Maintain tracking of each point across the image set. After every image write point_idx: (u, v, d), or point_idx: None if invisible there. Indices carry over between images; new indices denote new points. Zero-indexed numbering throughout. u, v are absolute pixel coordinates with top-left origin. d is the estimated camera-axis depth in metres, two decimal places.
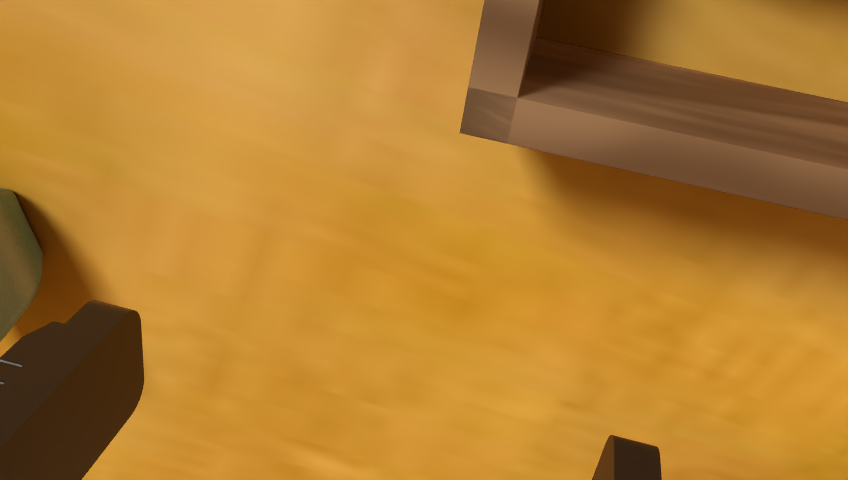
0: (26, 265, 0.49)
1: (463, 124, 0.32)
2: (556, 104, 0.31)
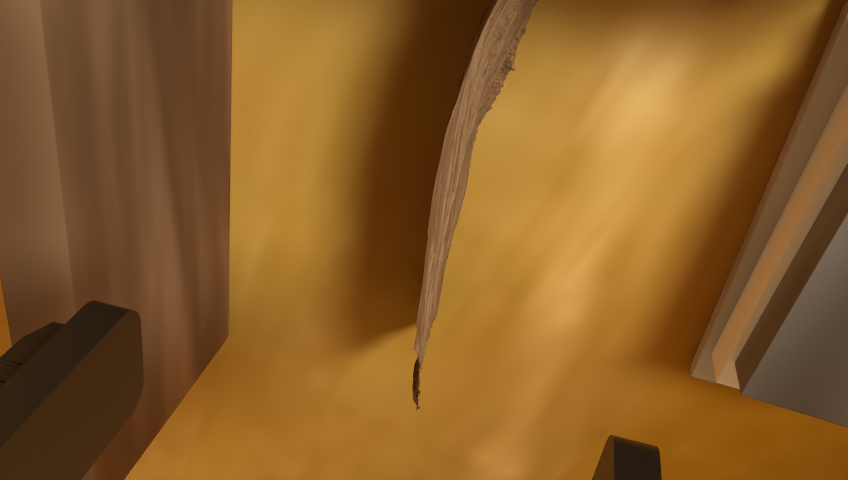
0: None
1: None
2: None
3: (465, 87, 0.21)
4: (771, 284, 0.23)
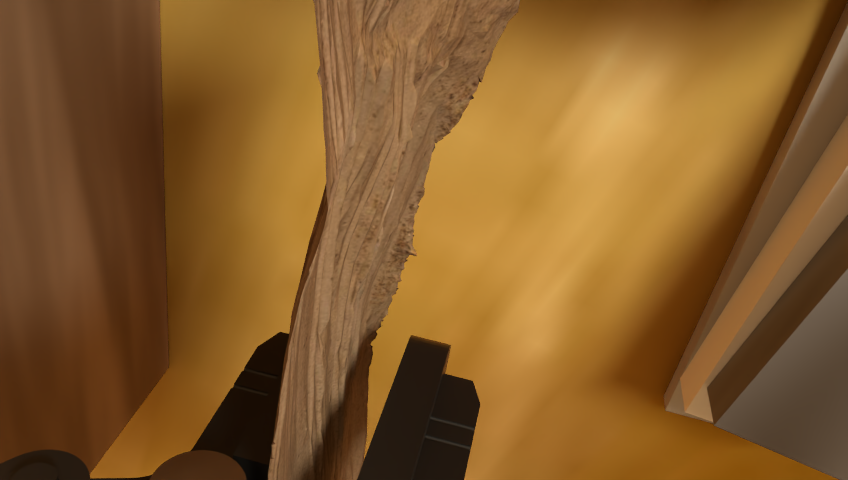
0: None
1: None
2: None
3: (311, 349, 0.10)
4: (756, 309, 0.20)
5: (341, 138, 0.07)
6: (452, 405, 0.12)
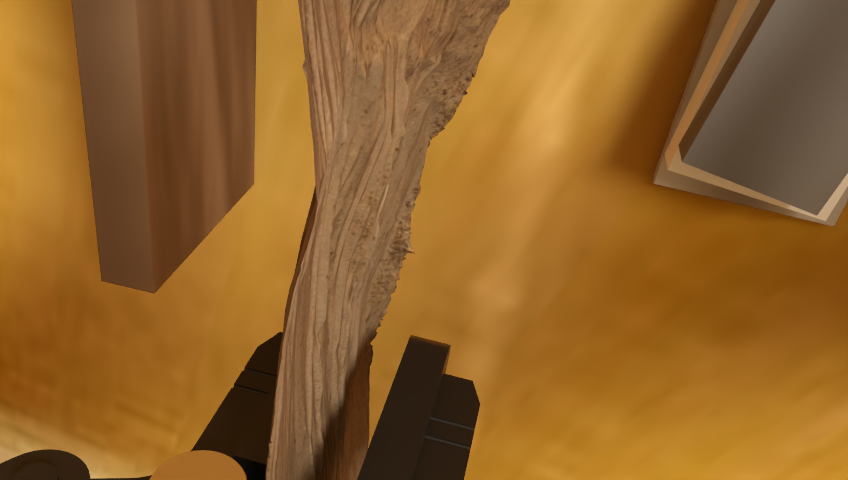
0: None
1: None
2: None
3: (308, 347, 0.10)
4: (717, 72, 0.26)
5: (330, 133, 0.07)
6: (452, 405, 0.12)
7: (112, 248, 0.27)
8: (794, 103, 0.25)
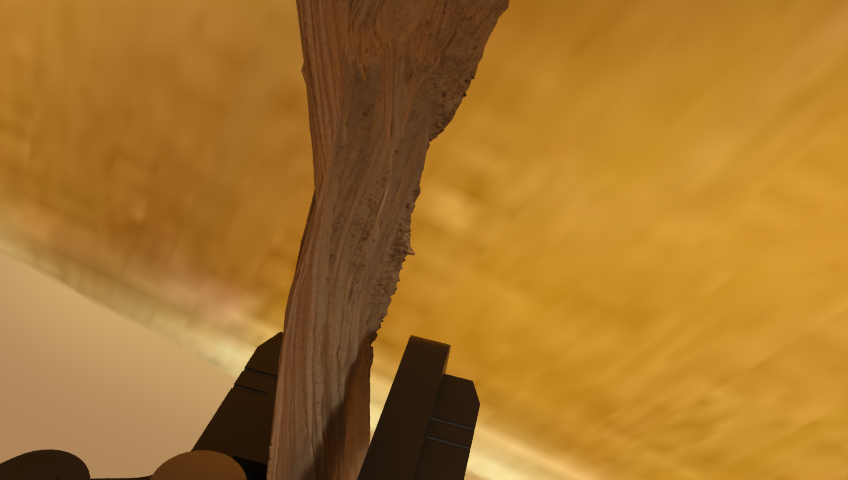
0: None
1: None
2: None
3: (308, 350, 0.10)
4: None
5: (329, 136, 0.07)
6: (451, 406, 0.12)
7: None
8: None
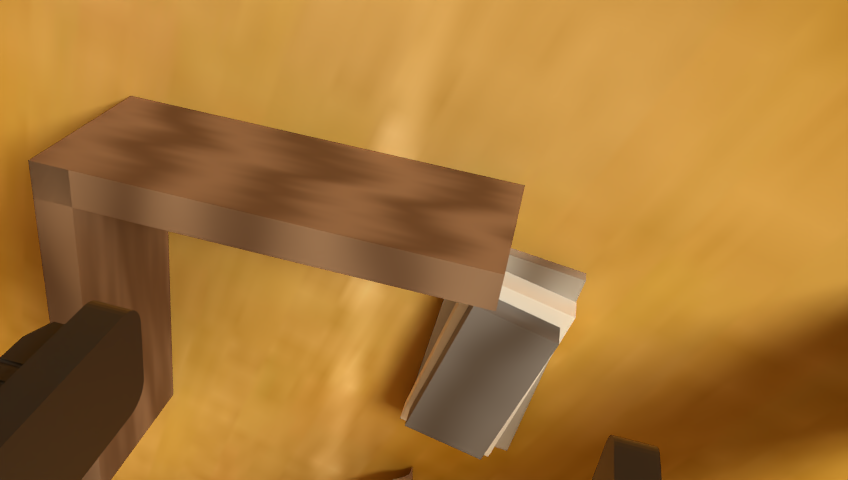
0: None
1: (36, 164, 0.36)
2: (77, 233, 0.38)
3: None
4: (423, 375, 0.46)
5: None
6: None
7: None
8: (460, 405, 0.45)
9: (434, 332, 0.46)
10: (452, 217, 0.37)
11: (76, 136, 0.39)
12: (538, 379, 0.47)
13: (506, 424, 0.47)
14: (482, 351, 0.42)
